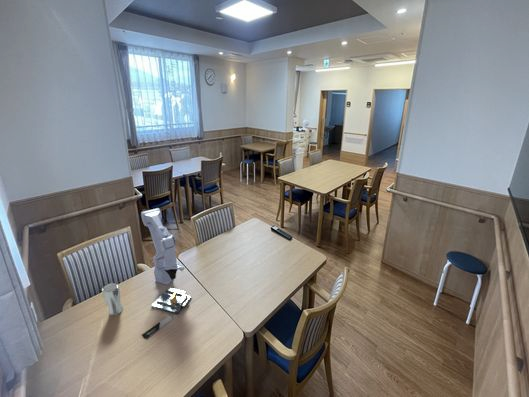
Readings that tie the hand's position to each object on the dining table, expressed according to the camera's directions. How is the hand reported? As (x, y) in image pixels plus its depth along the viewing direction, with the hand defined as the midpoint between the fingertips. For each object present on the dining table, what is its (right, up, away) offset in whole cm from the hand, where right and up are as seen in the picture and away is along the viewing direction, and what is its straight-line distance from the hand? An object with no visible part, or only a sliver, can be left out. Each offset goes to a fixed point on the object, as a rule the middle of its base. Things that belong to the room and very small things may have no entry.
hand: (173, 278), depth 136 cm
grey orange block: (+5, -11, -4) cm, 13 cm away
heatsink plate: (0, -12, -2) cm, 12 cm away
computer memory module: (-1, -18, -16) cm, 24 cm away
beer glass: (-26, -14, -8) cm, 31 cm away
